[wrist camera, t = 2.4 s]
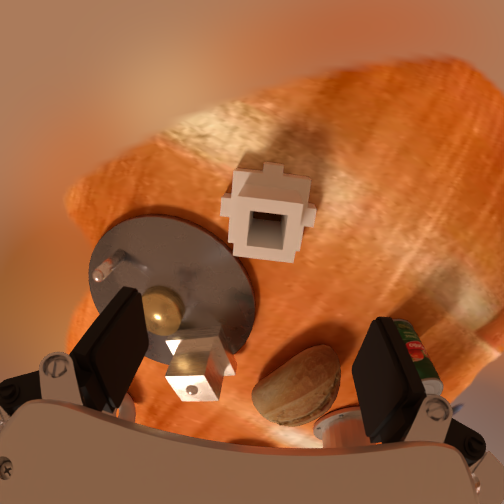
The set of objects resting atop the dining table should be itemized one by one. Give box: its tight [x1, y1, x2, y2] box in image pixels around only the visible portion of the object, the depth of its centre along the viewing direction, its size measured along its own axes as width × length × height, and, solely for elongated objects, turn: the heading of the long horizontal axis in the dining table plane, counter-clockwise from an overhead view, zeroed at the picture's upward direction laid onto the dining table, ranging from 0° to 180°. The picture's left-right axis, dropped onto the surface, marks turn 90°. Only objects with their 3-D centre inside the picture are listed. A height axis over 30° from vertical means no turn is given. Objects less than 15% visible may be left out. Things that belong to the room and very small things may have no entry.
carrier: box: [89, 214, 255, 401], centre depth 29 cm, size 22×22×9 cm
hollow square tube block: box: [220, 162, 317, 263], centre depth 24 cm, size 9×9×7 cm
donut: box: [102, 393, 136, 423], centre depth 39 cm, size 10×4×10 cm, turn 7°
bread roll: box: [252, 344, 341, 427], centre depth 33 cm, size 10×15×8 cm, turn 146°
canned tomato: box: [393, 319, 443, 397], centre depth 28 cm, size 8×8×11 cm
